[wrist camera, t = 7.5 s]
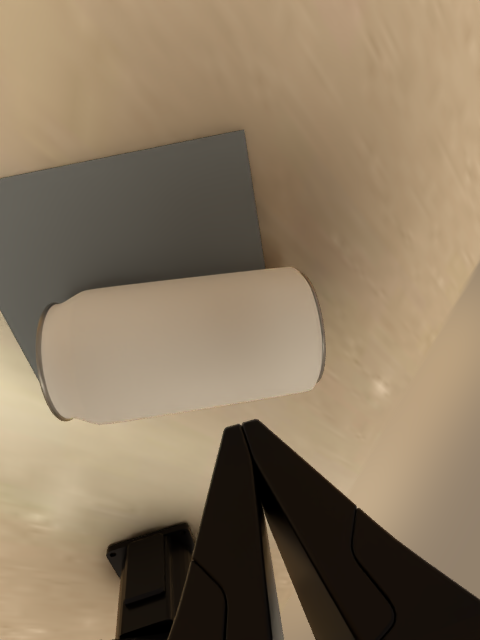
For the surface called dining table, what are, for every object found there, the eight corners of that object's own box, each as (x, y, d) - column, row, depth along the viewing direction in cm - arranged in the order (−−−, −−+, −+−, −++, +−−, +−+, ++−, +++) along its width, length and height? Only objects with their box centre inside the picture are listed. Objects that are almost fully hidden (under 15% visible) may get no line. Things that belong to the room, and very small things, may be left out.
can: (336, 309, 14) (12, 352, 13) (320, 417, 18) (68, 461, 16) (289, 244, 19) (55, 269, 18) (284, 338, 23) (91, 366, 22)
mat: (272, 325, 23) (274, 328, 22) (45, 384, 21) (43, 388, 21) (242, 129, 17) (244, 129, 17) (-60, 190, 16) (-65, 191, 16)
